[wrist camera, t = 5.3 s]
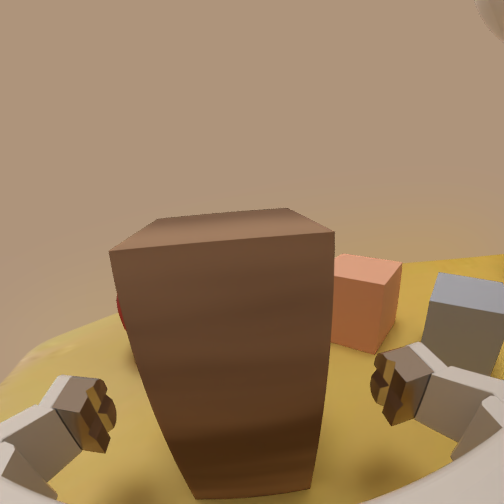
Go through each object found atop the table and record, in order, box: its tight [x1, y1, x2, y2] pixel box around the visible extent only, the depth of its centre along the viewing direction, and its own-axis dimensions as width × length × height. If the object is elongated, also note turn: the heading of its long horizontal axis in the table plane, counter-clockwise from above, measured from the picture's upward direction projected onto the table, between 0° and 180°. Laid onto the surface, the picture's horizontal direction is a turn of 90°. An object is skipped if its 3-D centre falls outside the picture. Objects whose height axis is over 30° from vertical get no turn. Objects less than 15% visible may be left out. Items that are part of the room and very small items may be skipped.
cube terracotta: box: [331, 254, 402, 355], centre depth 19 cm, size 5×5×5 cm
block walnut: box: [109, 208, 335, 499], centre depth 9 cm, size 4×4×10 cm
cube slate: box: [421, 272, 504, 377], centre depth 13 cm, size 5×5×5 cm
